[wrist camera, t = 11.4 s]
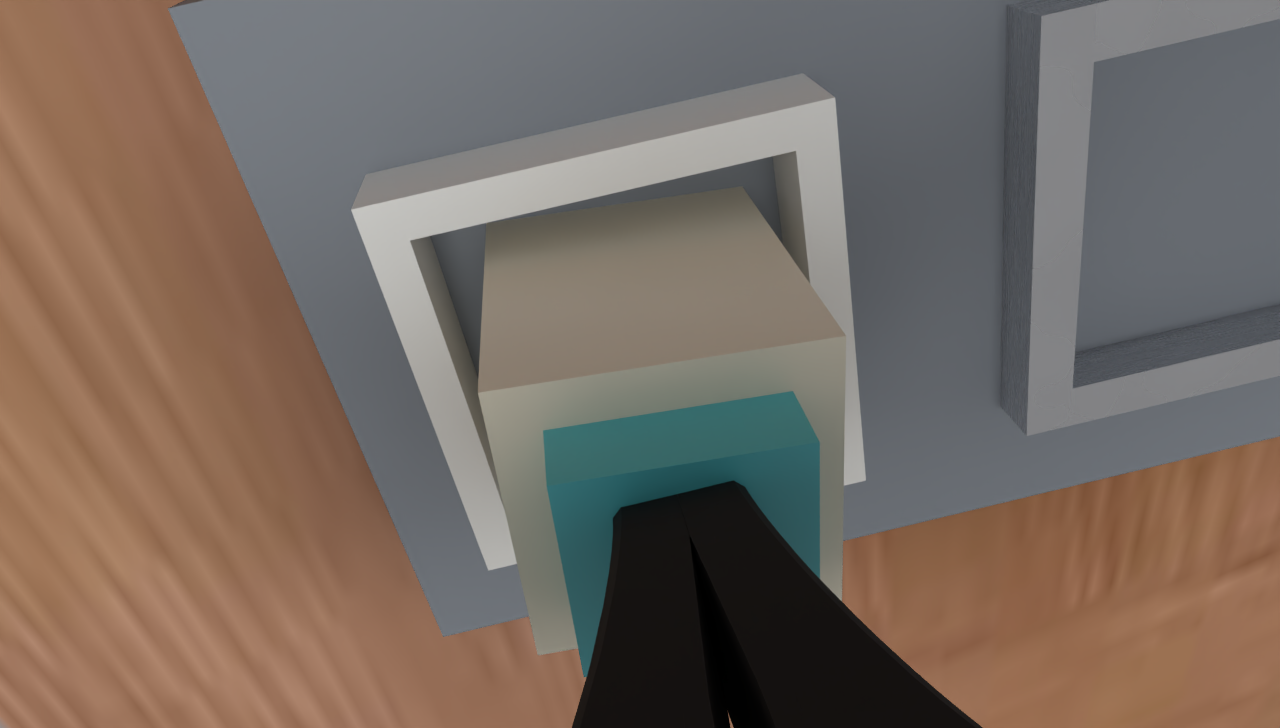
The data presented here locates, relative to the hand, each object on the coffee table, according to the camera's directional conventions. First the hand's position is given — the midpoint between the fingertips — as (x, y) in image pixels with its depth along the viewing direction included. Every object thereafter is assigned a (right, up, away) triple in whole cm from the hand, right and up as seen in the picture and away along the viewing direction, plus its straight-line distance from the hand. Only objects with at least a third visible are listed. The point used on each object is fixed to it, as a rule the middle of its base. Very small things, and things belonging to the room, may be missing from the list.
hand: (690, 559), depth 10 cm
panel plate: (+4, +5, +6) cm, 9 cm away
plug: (-1, +3, +5) cm, 6 cm away
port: (-1, +3, +6) cm, 7 cm away
